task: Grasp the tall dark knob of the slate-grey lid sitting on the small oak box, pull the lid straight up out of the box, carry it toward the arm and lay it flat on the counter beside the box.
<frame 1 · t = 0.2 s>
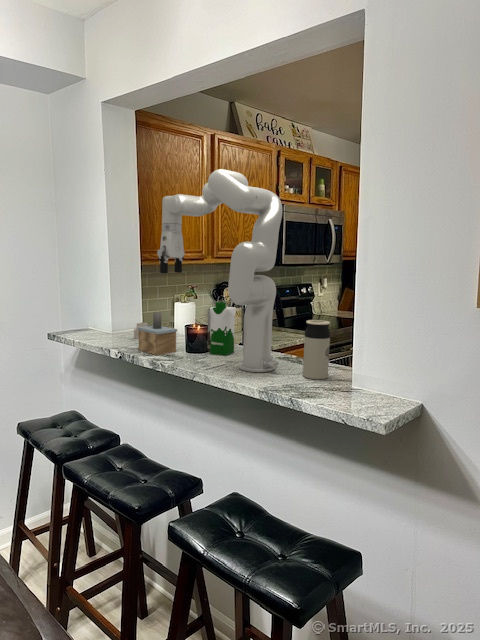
hand: (171, 272, 187), 30 cm above the worktop, tool pointing down, fingers open, 9 cm apart
architectural model: (140, 339, 211), on the worktop
milk carton: (222, 353, 184), on the worktop
coffee box: (219, 347, 195), on the worktop
box: (157, 350, 185), on the worktop
travel mug: (315, 377, 152), on the worktop
lid: (157, 330, 184), point 8 cm above the worktop, touching box
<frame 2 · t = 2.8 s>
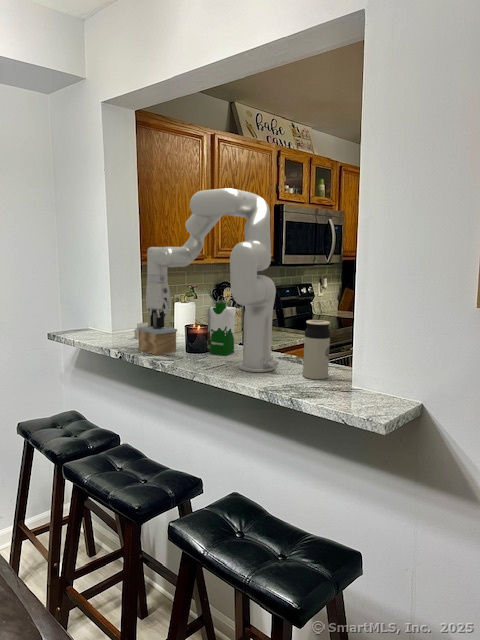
hand: (157, 326, 183), 10 cm above the worktop, tool pointing down, fingers closed on lid, 3 cm apart
lid: (157, 330, 184), point 8 cm above the worktop, touching box, gripper
everything else where it was.
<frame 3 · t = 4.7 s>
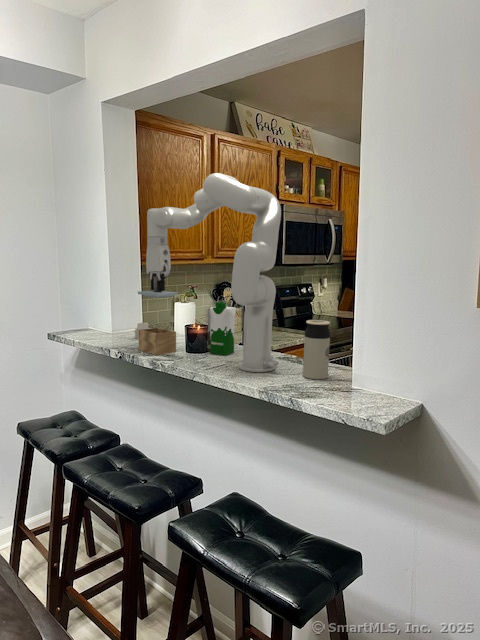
hand: (157, 290, 181), 24 cm above the worktop, tool pointing down, fingers closed on lid, 3 cm apart
lid: (157, 294, 181), point 22 cm above the worktop, touching gripper
everything else where it was.
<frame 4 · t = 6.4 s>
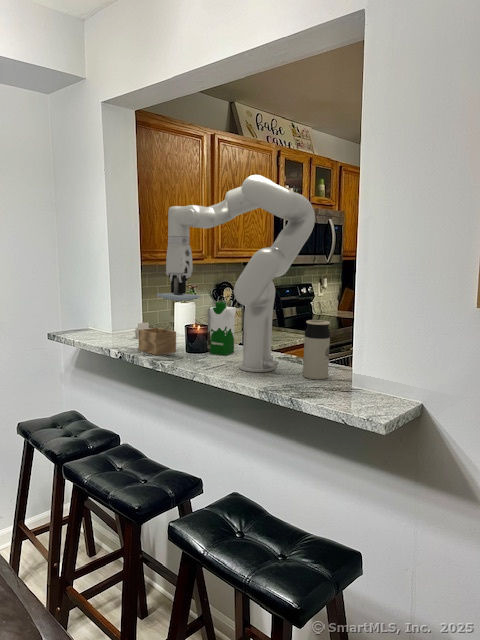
hand: (178, 292, 171), 24 cm above the worktop, tool pointing down, fingers closed on lid, 3 cm apart
lid: (178, 297, 171), point 22 cm above the worktop, touching gripper
everything else where it was.
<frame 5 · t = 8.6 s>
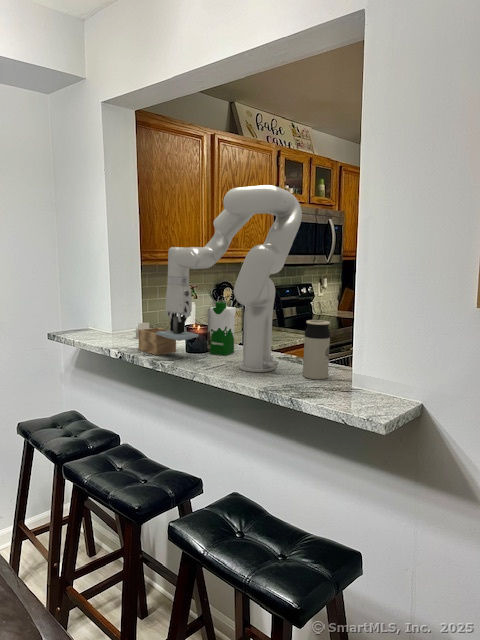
hand: (177, 331, 173), 10 cm above the worktop, tool pointing down, fingers closed on lid, 3 cm apart
lid: (177, 335, 173), point 8 cm above the worktop, touching gripper
everything else where it was.
when the fingers open (4 cm above the worktop, at t = 10.2 s): lid drops 2 cm, point 1 cm above the worktop.
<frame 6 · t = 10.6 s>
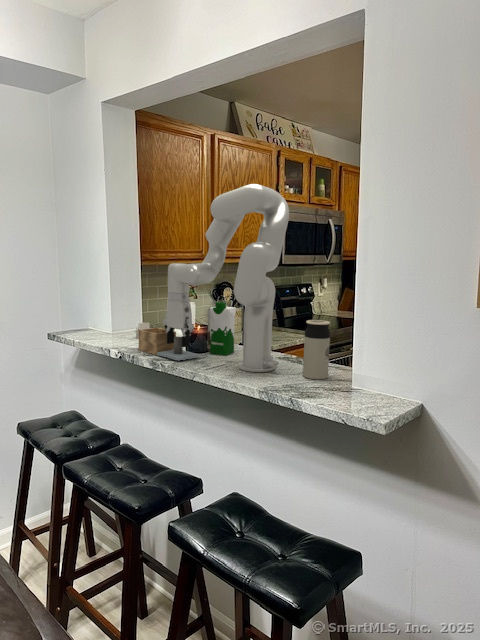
hand: (178, 344, 174), 5 cm above the worktop, tool pointing down, fingers open, 8 cm apart
lid: (178, 355, 174), point 1 cm above the worktop
everything else where it was.
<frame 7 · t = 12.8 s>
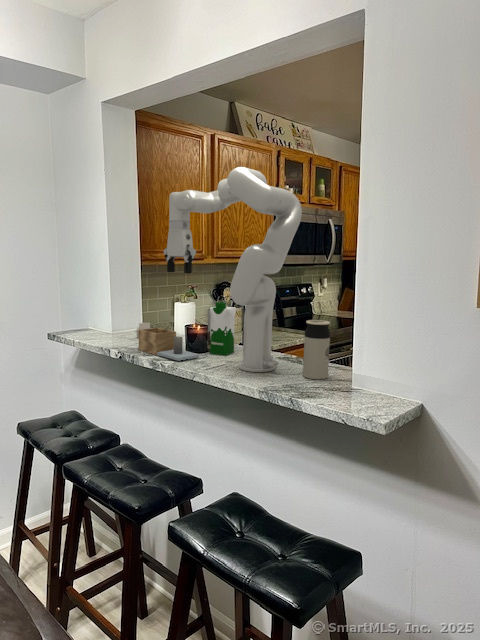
hand: (179, 272, 178), 31 cm above the worktop, tool pointing down, fingers open, 9 cm apart
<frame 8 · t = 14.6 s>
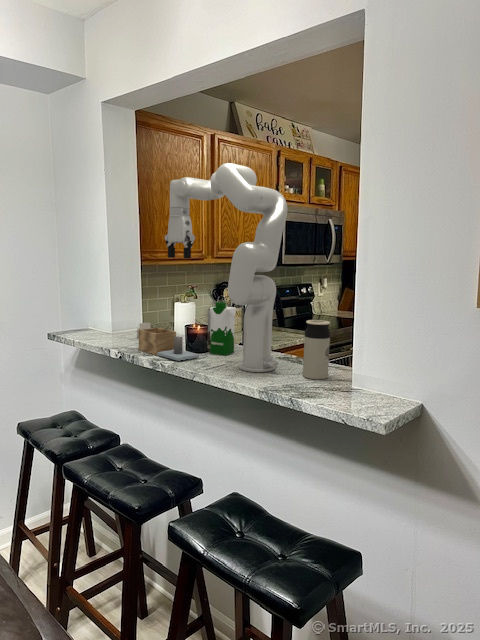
hand: (179, 257, 185), 36 cm above the worktop, tool pointing down, fingers open, 9 cm apart
at the end: lid inside the target area (0.1 cm from its centre), point 0.6 cm above the worktop; lid tilted 0°; lid touching worktop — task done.
